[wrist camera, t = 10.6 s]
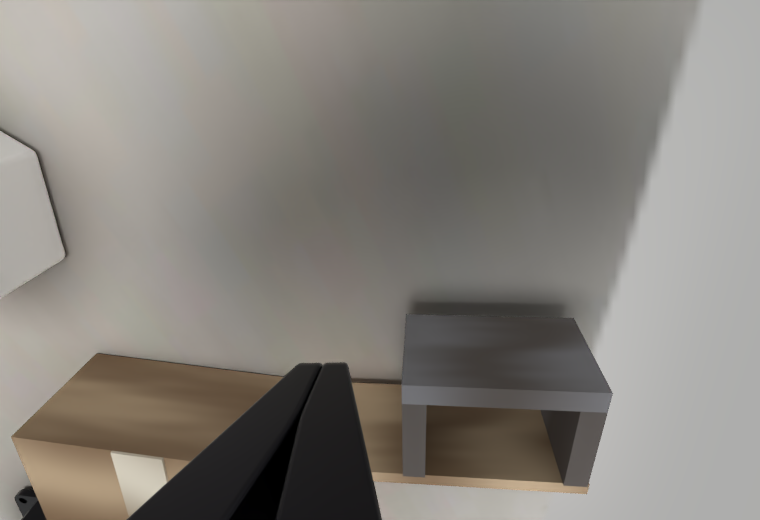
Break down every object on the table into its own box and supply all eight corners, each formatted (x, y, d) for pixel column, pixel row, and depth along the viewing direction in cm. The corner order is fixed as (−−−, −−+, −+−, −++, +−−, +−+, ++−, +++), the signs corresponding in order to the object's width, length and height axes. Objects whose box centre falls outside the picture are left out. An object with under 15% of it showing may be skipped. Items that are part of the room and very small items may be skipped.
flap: (570, 308, 18) (616, 393, 13) (553, 398, 20) (587, 496, 16) (299, 302, 19) (263, 379, 15) (311, 389, 21) (282, 478, 17)
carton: (301, 522, 26) (275, 624, 22) (135, 498, 27) (76, 594, 22) (300, 379, 21) (266, 474, 16) (96, 353, 21) (8, 439, 17)
